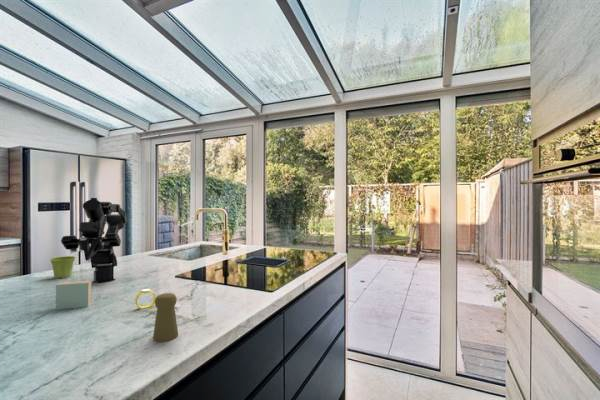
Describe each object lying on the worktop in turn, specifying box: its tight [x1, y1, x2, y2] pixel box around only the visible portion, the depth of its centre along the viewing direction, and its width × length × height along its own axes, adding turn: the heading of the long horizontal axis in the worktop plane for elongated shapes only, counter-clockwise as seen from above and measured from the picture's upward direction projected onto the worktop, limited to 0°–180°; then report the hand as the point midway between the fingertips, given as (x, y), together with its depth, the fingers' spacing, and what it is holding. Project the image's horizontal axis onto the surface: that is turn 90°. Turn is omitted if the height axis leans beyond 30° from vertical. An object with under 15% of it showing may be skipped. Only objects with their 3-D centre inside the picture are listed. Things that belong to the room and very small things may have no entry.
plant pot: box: [49, 255, 77, 279], centre depth 141 cm, size 9×9×9 cm
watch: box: [134, 288, 157, 310], centre depth 101 cm, size 6×3×6 cm, turn 127°
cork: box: [152, 292, 179, 343], centre depth 80 cm, size 6×6×11 cm
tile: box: [55, 280, 92, 310], centre depth 102 cm, size 3×9×8 cm, turn 108°
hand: (86, 259), depth 114 cm, fingers closed
